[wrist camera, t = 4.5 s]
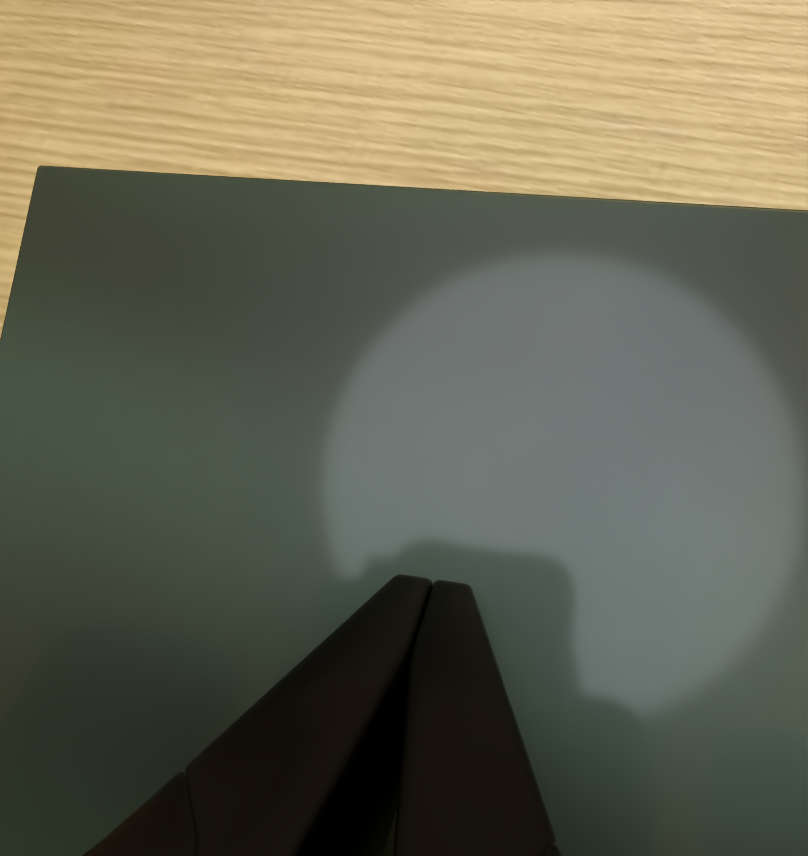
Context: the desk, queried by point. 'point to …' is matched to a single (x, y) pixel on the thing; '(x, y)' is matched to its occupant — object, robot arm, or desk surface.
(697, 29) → the desk surface
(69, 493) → the lid
